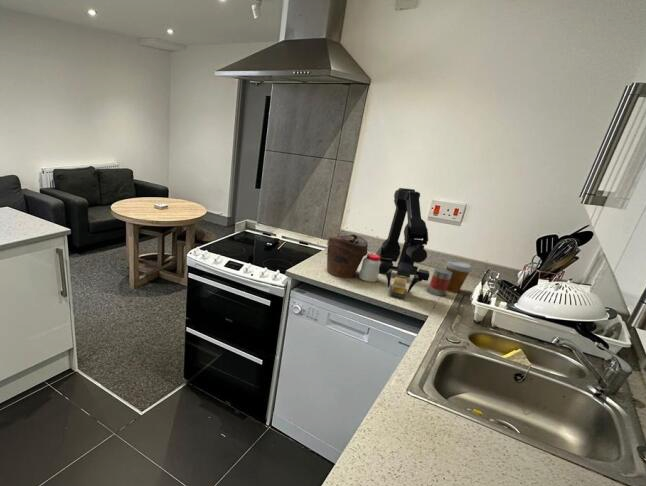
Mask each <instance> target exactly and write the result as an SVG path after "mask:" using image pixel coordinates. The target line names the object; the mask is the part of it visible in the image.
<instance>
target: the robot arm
mask: <svg viewBox="0 0 646 486" xmlns="http://www.w3.org/2000/svg"><path fill="white" fill-rule="evenodd" d="M393 198H394V199H393V202H394V205H395V211H394V214H393V217H392V221H391V225H390V228H389V232H388V235H387V238H386V239H385V240H384V241H383V242H382V244H381V246H380V247H379V248H378V250H377V251H376V252H375V254H376V255H379V256H380V261H381V264H380V267H379V270H380V271H379V274H383V275H386V280H387V281H386V282H387V288H388V289H389V288H390V286H391V279H392V272H393V271H394V272H396V275H397V277H404V278H405V279H407V278H410V277H411V276H413V277H412V279H411V282H410V284H409V286H408V289H407V293H409V292H410V291H411V290H412V288H413V287H414V286H415V285H416V284H417V283H419V282H422V281H425V282H428V281H429V279H430V275H431V274H430V271H429V270H426V269H423V268H419V266H417V265H415V263H416V264H417V263H418V264H419V263H423V262H424V261H425V260H426V259H427V258H428V252H427V250H426V249H425V246H427V245H428V242H429V232H428V231H429V229H428V227H427V224H426V221H424V220H423V218H422V213H421V203H420V198H421V192H419V191H416V190H415V189H414V188H405V187H399V188H398V189H396V190H395V192H394V193H393ZM406 215H407V223H406V225H405V226H404V222H405V219H406ZM403 226H404V229H403ZM402 229H403V238H404V240H403V241H404V242H403V245H402V249H401V245H400V241H399V240H400V236H401V233H402ZM397 261H398V262H397ZM394 262H395V263H396V262H397V266H396V265H394Z"/></svg>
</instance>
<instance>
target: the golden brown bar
mask: <svg viewBox="0 0 646 486" xmlns="http://www.w3.org/2000/svg"><path fill="white" fill-rule="evenodd" d="M406 288H407V278H402V277H399V276H395V277H394V280H393V283H392V288H391V293H390V297H393V298H397V299H401V300H403V298H404V295H405V291H406Z"/></svg>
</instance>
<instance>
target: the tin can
mask: <svg viewBox="0 0 646 486" xmlns="http://www.w3.org/2000/svg"><path fill="white" fill-rule="evenodd" d="M446 269H447V268H438V267H437V268H434V269H433V270H434V271H433V274H432V276H431V279H430V283H429V285H428V289H427V292H428V293H430V294H431V295H435V296H439V297H443V296H445V295H446V293H447V291H448V290H447V288H448V285H449V282H450V279H451V276H452V272H451V271H449V270H446Z"/></svg>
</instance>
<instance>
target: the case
mask: <svg viewBox="0 0 646 486" xmlns="http://www.w3.org/2000/svg"><path fill="white" fill-rule="evenodd" d="M326 246H327V250H326V254H325V256H326V271H327V273H329V274H331V275H334V276H337V277H341V278H352V277H353V278H354V277H355V276H356V273H357V271H358V269H359V267H360V264H361V263H362V262H363V259H364V258H365V257H367V254H368V241H367V240H366V239H365V238H363V237H362V236H361V235H357V234H345V235H337V236H329V237H328V240H327V243H326Z"/></svg>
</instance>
